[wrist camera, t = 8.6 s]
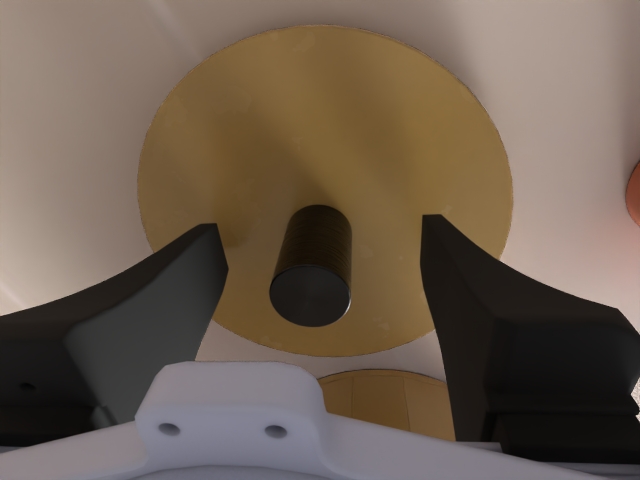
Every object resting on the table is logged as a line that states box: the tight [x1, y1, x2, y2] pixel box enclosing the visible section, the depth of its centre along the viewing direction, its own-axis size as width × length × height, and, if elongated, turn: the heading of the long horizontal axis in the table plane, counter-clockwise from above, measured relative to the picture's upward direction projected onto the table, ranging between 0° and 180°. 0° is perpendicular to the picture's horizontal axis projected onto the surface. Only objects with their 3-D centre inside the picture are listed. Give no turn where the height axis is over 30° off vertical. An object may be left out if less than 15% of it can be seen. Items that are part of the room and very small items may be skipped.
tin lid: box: [138, 24, 513, 357], centre depth 13 cm, size 13×13×5 cm
